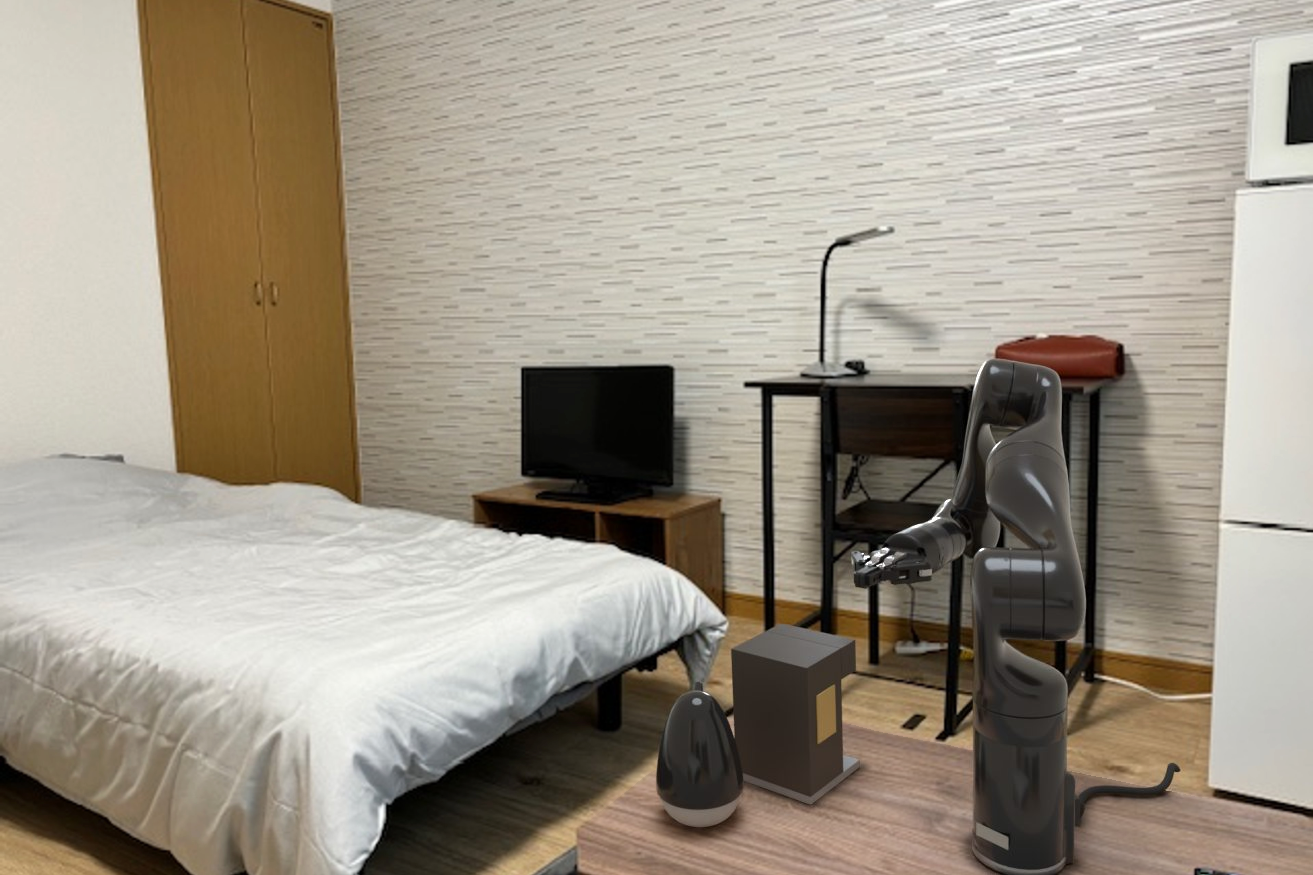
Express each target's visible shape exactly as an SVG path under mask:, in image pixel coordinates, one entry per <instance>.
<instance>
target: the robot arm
mask: <svg viewBox="0 0 1313 875" xmlns="http://www.w3.org/2000/svg"><path fill="white" fill-rule="evenodd" d="M1062 392H1063V389H1062V382H1061V378H1060V376H1059V374H1058V373H1057V371H1055V370H1054V369H1052V368H1050V367H1048V366H1045V365H1040V364H1035V363H1034V364H1033V363H1028V362H1023V361H1017V360H1010V359H1004V358H989V359H987V360H986V361H985V362H984V363H983V364H982V366H981V367H980V369H979V371H978V374H977V376H976V380H975V383H974V386H973V389H972V394H971V395H972V396H971V401H970V406H969V411H968V418H967V425H966V428H965V429H966V430H965V435H964V443H963V452H962V461H961V465H960V468H959V472H958V475H957V477H956V481H955V484H954V487H953V490H952V495H951V498H950V499H947V500H944V502H942V503H941V504H940V505H939V506H938V508H937V509H936V510H935V512H934V514H933V515H932V517H931V518H930V519H929V520H928V521H925V522H922V523H919V524H918V523H917V524H915V525H912V526H909V527H908V528H905V529H903V530H901V531H899V532H897V533H894V534H892V535H890V536H889V537H888V538H887V539H886V540H885V541H884V543H883V545H882V546H881V548H880V549H879V550H874V551H873V550H872V552H870V553H869V555H865V553H863V552H862V553H861V551H859V550H853V551H851V569H852V571H853V584H854V587H855V588H859V589H865V590H866V589H869V588H870V587H873V586H875V585H877V584H879V585H884V584H886V583H890V584H891V585H894V586H897V585H912V584H916V583H925V582H931V581H932V580H933V574H935V573H937V572H939V571H940V570H942V569H943V568H944V567H945V566H946V565H948V564H950V563H952V562H954V561H955V560H957V559H958V558H960V557H961V556H962V555H963V556H964V557H966V558H968V559H970V560H972V561H971V566H970V572H969V573H970V574H969V575H970V576H969V580H970V581H969V596H970V613H971V626H972V627H971V628H972V646H973V647H972V649H973V650H972V651H973V665H972V666H973V668H972V672H973V673H972V835H971V849H972V853H973V854H974V856H975V857H976V859H977V860H979V861H980V862H981V863H982V864H983V865H985V866H986V867H988V868H990V869H992V870H994V871H996V872H997V873H1001V874H1005V875H1055V874H1057V873H1059V872H1060V871H1061V870H1062V869H1064V868H1065V866H1066V865H1067V864H1068V865H1069V864H1073V863H1075V828H1078V827H1080V826H1081V820H1082V818H1083V815H1084V813H1085V810H1086V805H1085V802H1086V801H1087V800H1088V799H1089V798H1090V797H1092V796H1095V795H1100V794H1117V795H1126V796H1155V795H1158V794H1159V795H1160V793H1163V792H1165V791H1166V790H1167V789H1168V788H1169V787H1170V786H1171V784H1172V782H1173V779H1174V775H1175V773H1180V772H1182V771H1181V768H1180V766H1179V765H1178V764H1177V763H1175V762H1170V763H1168V764H1167V767H1166V771H1165V774H1164V777H1163V779H1162V780H1161V782H1160V783H1158V784H1157V785H1154V786H1147V787H1134V786H1123V785H1108V784H1106V785H1105V784H1104V785H1103V784H1102V785H1093V786H1091V787H1088V788H1086V789H1084V790H1083V791H1081V792H1080V793H1079V795H1077V794H1076V778H1075V775H1073V774H1072V773H1071V772H1070V771H1068V768H1067V767H1068V704H1069V703H1068V702H1069V699H1068V697H1069V688H1068V683H1067V680H1066V678H1065V676H1064V674H1063V673H1062V672H1060V671H1059V670H1058V669H1056V668H1055V667H1053V666H1052V665H1050V664H1048V663H1046V662H1044V661H1041V660H1039V659H1037V658H1034V657H1031V656H1029V655H1027V654H1025V653H1023V652H1021V651H1020V650H1018V649H1017V648H1015V647H1013V646H1012V645H1011V644H1010V643H1009V642H1007V640H1019V641H1021V640H1022V641H1034V642H1035V641H1036V642H1037V641H1038V642H1041V641H1042V642H1064V641H1070V640H1072V639H1075V637H1077V636H1078V635H1079V634H1080V632H1081V630H1082V629H1083V626H1084V623H1085V617H1086V613H1087V612H1086V610H1087V596H1086V588H1085V582H1084V576H1083V571H1082V570H1083V569H1082V566H1081V561H1080V557H1079V553H1078V548H1077V545H1076V540H1075V535H1074V531H1073V526H1072V517H1071V516H1072V515H1071V501H1070V500H1071V498H1070V496H1071V495H1070V483H1069V482H1070V481H1069V474H1068V467H1067V462H1066V456H1065V450H1064V444H1063V434H1062V409H1063V408H1062V406H1063V393H1062ZM991 426H992V427H997V428H1003V429H1009V430H1013V431H1012V432H1009V433H1008V434H1007V435H1006V436H1004V437H1003V438H1002V439H1001V440H999V441H998V442H997V443H996V440H995V438H994V436H993V434H992V430H991ZM1001 525H1002V526H1003V527H1004V528H1005V529H1006V530H1007V531H1008V532H1009V533H1011V534H1012V535H1014V537H1016V538H1017V539H1018V540H1020V541H1021V542H1022V543H1023V544H1024V545H1026V546H1027V547H1028V548H1025V547H1024V548H1023V547H998V546H997V544H998V542H999V539H1000V534H1001Z"/></svg>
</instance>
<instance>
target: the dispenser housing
mask: <svg viewBox="0 0 1313 875" xmlns="http://www.w3.org/2000/svg"><path fill="white" fill-rule="evenodd" d="M856 654H857V651H856V639H854V638H849V637H845V636H840V635H836V634H831V633H826V632H823V631H819V630H818V631H817V630H813V629H810V628H809V629H808V628H805V627H799V626H795V625H791V624H786V623H779V624H778V625H776V626H772V627H771V628H769V629H767V630H766V631H763V632H761V633H759V634H758V635H755V636H753V637H752V638H750V639H747V640H745V641H743V642H742V643H739V644H738V645H735V646H734V647H732V648H730V657H731V680H732V681H731V683H732V684H731V685H732V686H731V687H732V709H733V710H732V711H733V735H734V738H735V741H736V745H737V748H738V752H739V756H740V761H741V766H742V771H743V779H744V782H746V783H749V784H752V785H754V786H757V787H760V788H763V789H766V790H768V791H770V792H773V793H776V794H779V795H781V796H785V797H787V798H790V799H793V800H796V801H799V802H801V803H805V804H807V805H813V804H814V803H815V802H817V801H818V800H819V799H820V798H822V797H823V796H825V795H826V794H827V793H828V792H830V791H831V790H832V789H833V788H835V787H836V786H837V785H839V784H840V783H842V781H844V780H845V779H846V778H847V777H849V776H850V775H852V773H854V772H855V771H857V770H858V769H859V768H860V767H861V760H860V759H859V758H855V757H852V756H850V755H847V754H844V740H843V737H844V736H843V735H844V734H843V693H842V690H843V689H842V688H843V687H842V680H843V679H845V678H847V677H848V676H850V675H852V674H853V673H854V672H856V671H857V655H856Z"/></svg>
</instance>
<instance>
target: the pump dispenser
mask: <svg viewBox="0 0 1313 875" xmlns="http://www.w3.org/2000/svg"><path fill="white" fill-rule="evenodd" d="M692 689H693V690H689V691H687V692H685V693H683V694H681V695H680V696H679V697H678V698H677V699H676V701H675V702H674V703H673V705H672V707H671V708H670V711H669V713H668V716H667V718H666V721H665V724H664V728H663V732H662V736H661V740H660V744H659V748H658V749H659V750H658V755H657V762H656V770H655V771H656V772H655V790H656V793H657V796H658V797H659V798H660V801H661V804H662V806H663V808H664V809H665V811H666V813H667V814H668V815H669V816H670V817H671V818H672V819H673V820H675V821H676V822H678V823H680V824H682V825H685V826H688V827H694V828H707V827H712V826H716V825H718V824H720V823H722V822H724V821H725V820H727V819H728V818H729V817H730V816H731V815H732V814H733V813H734V812H735V810H736V808H737V806H738V804H739V801H740V798H741V795H742V793H743V791H744V787H745V783H744V782H745V781H744V779H743V771H742V766H741V761H740V756H739V752H738V748H737V745H736V741H735V737H734V731H733V729H732V727H731V724H730V721H729V718H728V716H727V714H726V713H725V711H724V709H723V708H722V706H721V704H720V703H719V702H718V700H717V699H716V698H715V697H714V696H713V695H712V694H711V693H708V692H706V691H704V684H703V682H701V681H696V682H694V684H693V688H692Z"/></svg>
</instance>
